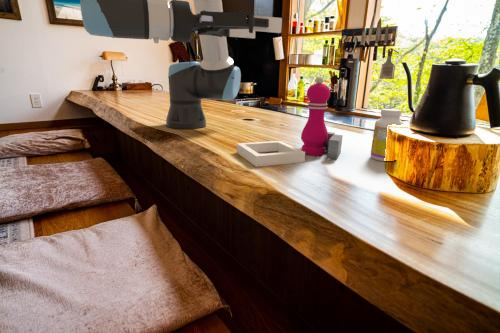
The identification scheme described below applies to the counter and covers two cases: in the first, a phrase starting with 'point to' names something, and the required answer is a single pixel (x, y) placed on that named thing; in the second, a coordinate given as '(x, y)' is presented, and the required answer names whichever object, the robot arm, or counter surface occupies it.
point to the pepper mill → (316, 119)
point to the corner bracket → (333, 145)
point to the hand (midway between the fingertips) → (266, 29)
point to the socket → (283, 157)
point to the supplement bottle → (383, 132)
